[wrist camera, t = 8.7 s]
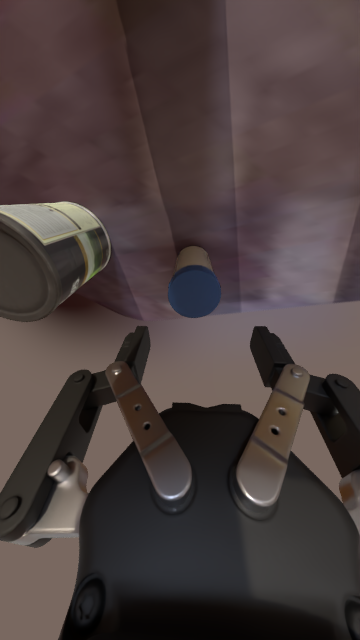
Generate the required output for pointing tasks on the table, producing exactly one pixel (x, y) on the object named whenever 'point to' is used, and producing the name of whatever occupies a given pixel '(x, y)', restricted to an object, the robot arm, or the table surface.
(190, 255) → the jar
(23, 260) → the coffee can
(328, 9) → the table surface
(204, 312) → the lid
